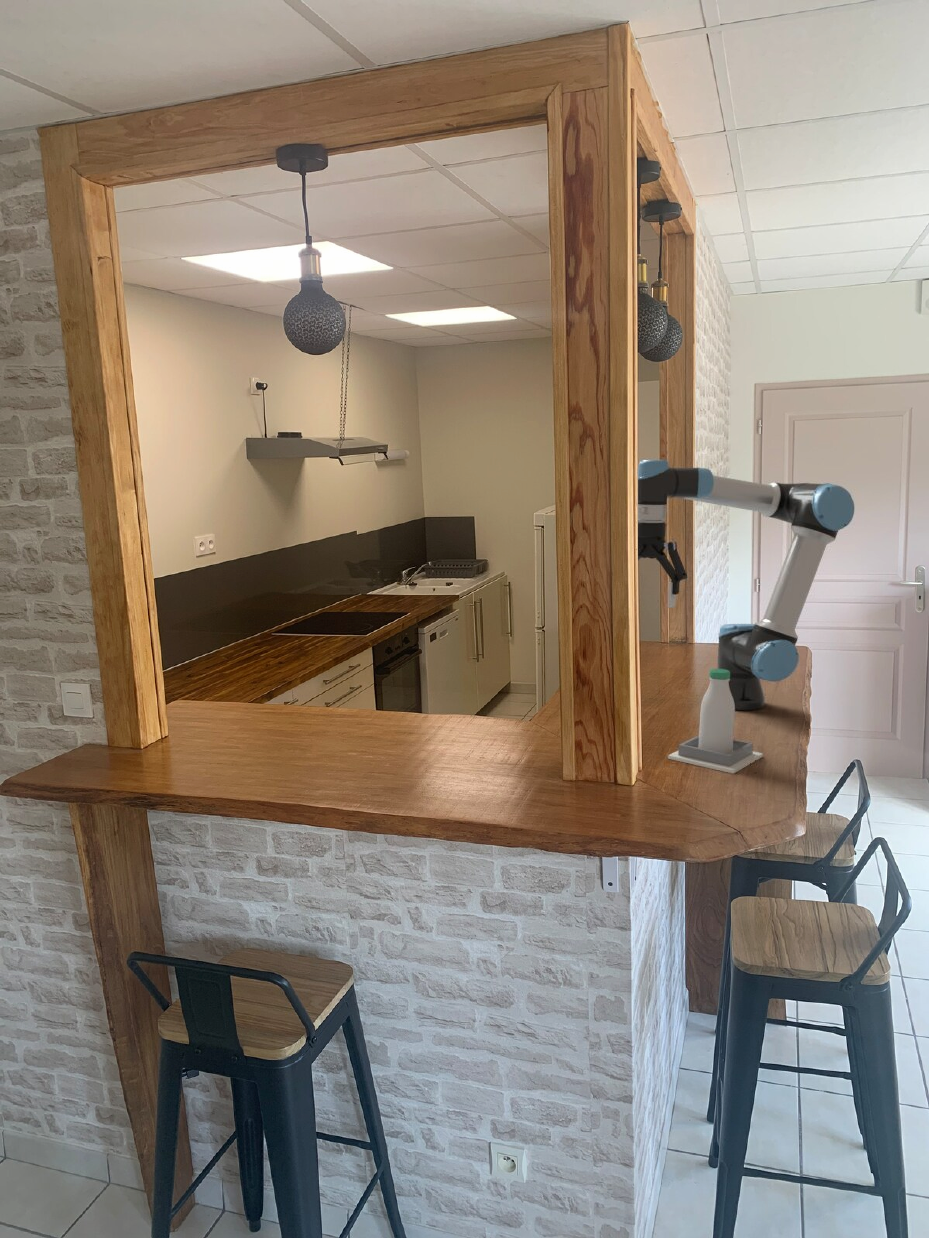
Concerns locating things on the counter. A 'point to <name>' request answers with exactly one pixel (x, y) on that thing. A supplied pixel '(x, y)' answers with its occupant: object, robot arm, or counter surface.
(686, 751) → the tray
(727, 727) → the milk bottle
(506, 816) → the counter surface
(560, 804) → the counter surface
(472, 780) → the counter surface
